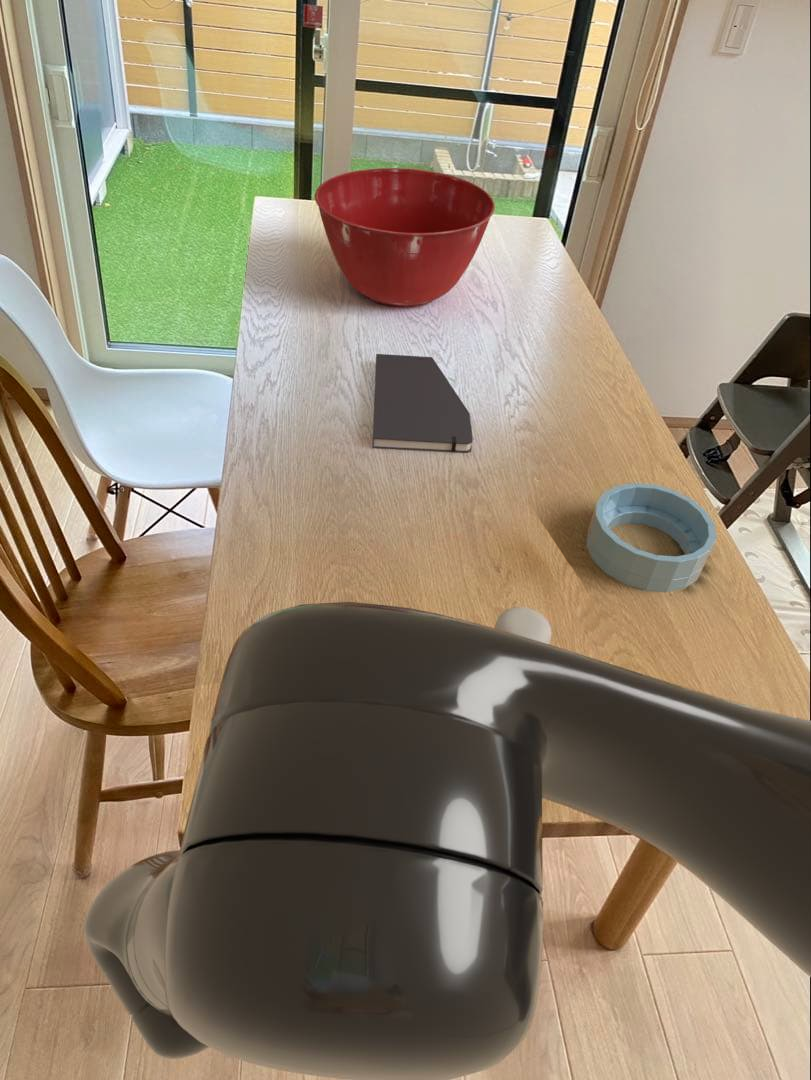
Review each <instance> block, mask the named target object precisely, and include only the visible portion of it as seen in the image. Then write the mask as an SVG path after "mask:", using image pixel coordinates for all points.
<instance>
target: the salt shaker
mask: <svg viewBox="0 0 811 1080" xmlns="http://www.w3.org/2000/svg"><path fill="white" fill-rule="evenodd" d="M493 628H495V629H499V630H502V631H505V632H509V633H512V634H515V635H519V636H522V637H526V638H529V639H532V640H536V641H539V642H542V643H546V644H549V645H550V644H551V643H550V642H551V639H552V628H551V625H550V622H549V620H548V619H547V618H546V617H545V616H544V615H543V614H542V613H541V612H539V611H537V610H534V609H533V608H530V607H526V606H525V607H523V606H515V607H510V608H506V609H505V610H504V611H503V612H501V613H500V614H499V615H498V617H497V619H496V622H495V625H494V627H493Z"/></svg>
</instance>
